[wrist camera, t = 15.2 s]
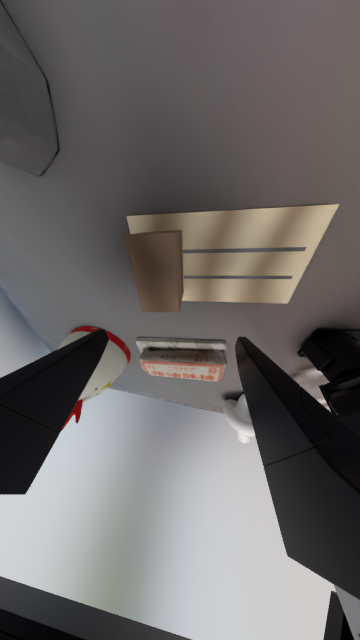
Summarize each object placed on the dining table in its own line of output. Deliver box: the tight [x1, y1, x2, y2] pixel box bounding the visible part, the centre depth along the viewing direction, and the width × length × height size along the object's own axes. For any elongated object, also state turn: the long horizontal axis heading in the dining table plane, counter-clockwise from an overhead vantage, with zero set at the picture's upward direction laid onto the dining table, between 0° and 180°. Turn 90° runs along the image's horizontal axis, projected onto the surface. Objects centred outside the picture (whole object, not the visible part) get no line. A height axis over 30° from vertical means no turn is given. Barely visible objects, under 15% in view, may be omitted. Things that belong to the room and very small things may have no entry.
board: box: [127, 204, 339, 303], centre depth 16 cm, size 20×10×1 cm, turn 93°
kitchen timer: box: [57, 326, 130, 431], centre depth 25 cm, size 14×14×15 cm
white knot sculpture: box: [223, 394, 255, 443], centre depth 33 cm, size 11×12×9 cm
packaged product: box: [136, 337, 227, 381], centre depth 27 cm, size 18×5×10 cm
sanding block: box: [124, 230, 184, 312], centre depth 14 cm, size 4×7×6 cm, turn 3°
